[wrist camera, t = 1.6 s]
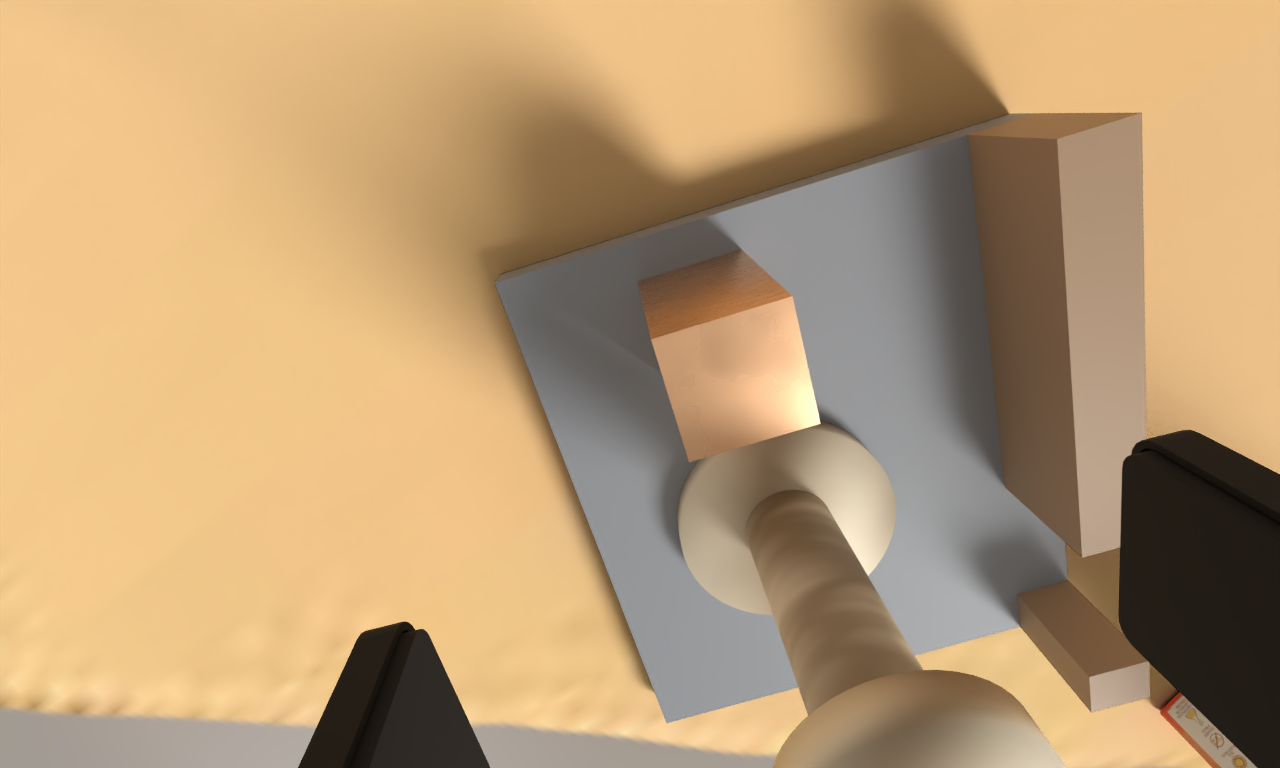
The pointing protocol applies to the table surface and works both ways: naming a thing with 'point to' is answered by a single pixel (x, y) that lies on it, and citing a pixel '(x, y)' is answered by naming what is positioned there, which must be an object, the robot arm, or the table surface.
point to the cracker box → (1203, 735)
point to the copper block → (728, 354)
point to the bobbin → (839, 609)
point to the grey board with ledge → (887, 391)
